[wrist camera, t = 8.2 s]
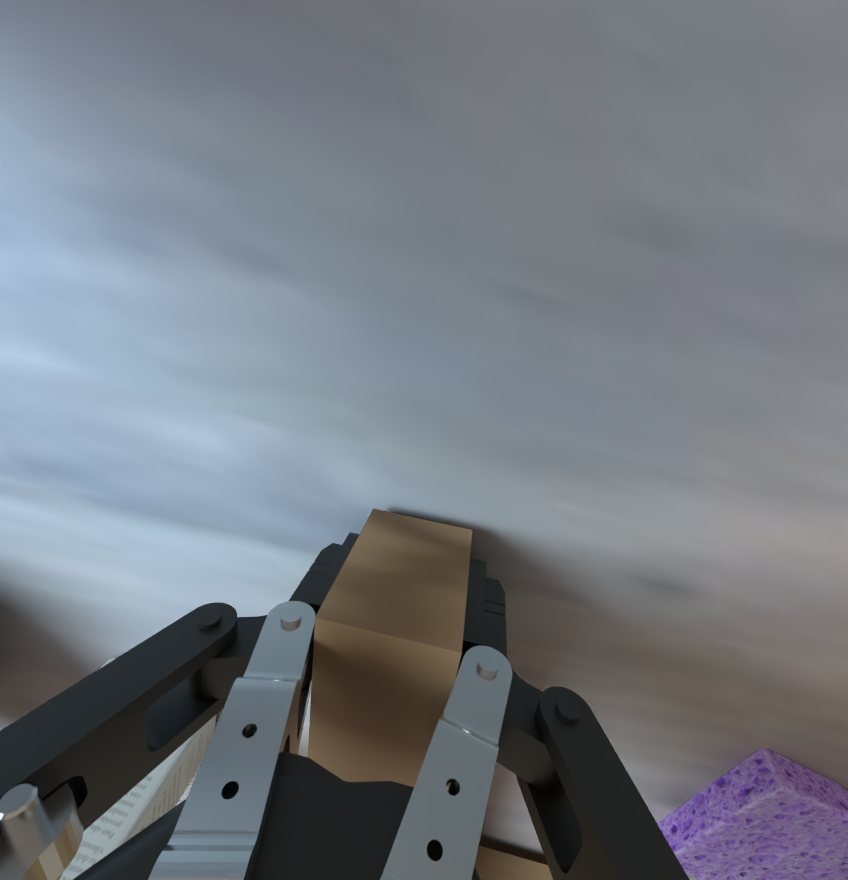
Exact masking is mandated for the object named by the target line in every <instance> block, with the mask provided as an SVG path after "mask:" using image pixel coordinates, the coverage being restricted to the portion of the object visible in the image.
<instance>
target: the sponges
mask: <svg viewBox="0 0 848 880" xmlns="http://www.w3.org/2000/svg"><path fill="white" fill-rule="evenodd" d="M657 825H658V826H659V828H660V830H661V831H662V833H663V835H664V837H665V838H666V840H667V842H668V844H669V845H670V847H671V849H672V850H673V852H674V854H675V856H676V857H677V859H678V861H679V863H680V864H681V866H682V868H683V869H684V871H685V873H686V874H687V875H689V876H694V877H696V878H697V879H699V880H848V790H846V789H844V788H843V787H842V786H841V785H839V784H837V783H835V782H833V781H831V780H829V779H827V778H825V777H823V776H821V775H819V774H817V773H815V772H812V771H811V770H809V769H807V768H805V767H803V766H801V765H799V764H797V763H795V762H793V761H791V760H789V759H787V758H785V757H783V756H781V755H779V754H776V753H774V752H772V751H770V750H768V749H766V748H760V749H759V750H757V751H756V752H755V753H753V754H752V755H750V756H749V757H748V758H746V759H745V760H743V761H742V762H741V763H740V764H738V765H737V766H736V767H734V768H732V769H731V770H730V771H728V772H727V774H725V775H723V776H722V777H720V778H719V779H718V780H716V781H715V782H713V783H712V784H711V785H710V786H708V787H706V788H705V789H704V790H702V791H701V792H700V793H699V794H697V795H696V796H694V797H693V798H691V799H690V800H689V801H687V802H686V803H685V804H683V805H682V806H681V807H679V808H678V809H677V810H676V811H675V812H673V813H672V814H670V815H668V816H667V817H666V819H665V820H663V821H661V822H659V823H658V824H657Z"/></svg>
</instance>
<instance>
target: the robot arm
mask: <svg viewBox="0 0 848 880" xmlns="http://www.w3.org/2000/svg"><path fill="white" fill-rule="evenodd" d="M359 535H360V534H356V533H351V532H350V533H349V535H348V536H347V538H346V540H345V541H344V543H343V545H339V544H334V543H332V544H331V545H329V546H328V547H326V548H325V549H323V550H322V551H321V552H320V554H319V555H318V557H317V558H316V560H315V562H314V563H313V564H312V566H311V567H310V569H309V571H308V572H307V574H306V575H305V577H304V578H303V580H302V581H301V583H300V584H299V586H298V587H297V589H296V591H295V592H294V594H293V595H292V597H291V598H290V600H289V601H288V602H284V603H282V604H279V605H277V606H276V607H274V608H273V609H272V610H271V611H270V612H269V614H268V615H265V616H259V617H237V613H236V610H235V609H234V608H233V607H232V606H230V605H228V604H225V603H210V604H206V605H203V606H200V607H198V608H197V609H195V610H193V611H192V612H190V613H188V614H187V615H185V616H184V617H182V618H180V619H179V620H177V621H176V622H174V623H172V624H171V625H169V626H167V627H166V628H164V629H163V630H161V631H159V632H158V633H156V634H155V635H153V636H151V637H150V638H148V639H147V640H145V641H143V642H142V643H140V644H139V645H137V646H135V647H134V648H132V649H131V650H129V651H127V652H126V653H124V654H123V655H121V656H119V657H118V658H116V659H115V660H113V661H111V662H110V663H108V664H107V665H105V666H103V667H102V668H100V669H99V670H97V671H95V672H94V673H92V674H91V675H89V676H87V677H86V678H84V679H83V680H81V681H79V682H78V683H76V684H75V685H73V686H71V687H70V688H68V689H67V690H65V691H63V692H62V693H60V694H59V695H57V696H55V697H54V698H52V699H51V700H49V701H47V702H46V703H44V704H43V705H41V706H39V707H38V708H36V709H35V710H33V711H31V712H30V713H28V714H27V715H25V716H23V717H22V718H20V719H19V720H17V721H15V722H14V723H12V724H11V725H9V726H7V727H6V728H4V729H3V730H1V731H0V880H59V879H60V877H61V876H62V874H63V872H64V870H65V869H66V868H67V867H68V865H69V864H70V863H71V861H72V860H73V858H74V857H75V855H76V853H77V851H78V849H79V847H80V844H81V841H82V837H83V832H84V831H85V830H86V829H87V828H88V827H89V826H91V825H92V824H93V823H94V822H95V821H96V820H97V819H98V818H100V817H101V816H102V815H103V814H104V813H105V812H106V811H108V810H109V809H110V808H111V807H112V806H113V805H114V804H115V803H117V802H118V801H119V800H120V799H121V798H122V797H123V796H124V795H126V794H127V793H128V792H129V791H130V790H131V789H132V788H134V787H135V786H136V785H137V784H138V783H139V782H140V781H141V780H143V779H144V778H145V777H146V776H147V775H148V774H149V773H151V772H152V771H153V770H154V769H155V768H156V767H157V766H158V765H160V764H161V763H162V762H163V761H164V760H165V759H166V758H167V757H169V756H170V755H171V754H172V753H173V752H174V751H175V750H177V749H178V748H179V747H180V746H181V745H182V744H183V743H184V742H186V741H187V740H188V739H189V738H190V737H191V736H192V735H194V734H195V733H196V732H197V731H198V730H199V729H200V728H201V727H203V726H204V725H205V724H206V723H207V722H208V721H209V720H210V719H212V718H213V717H214V716H215V715H216V714H217V713H218V712H220V711H221V710H222V709H223V711H222V713H221V716H220V718H219V721H218V723H217V726H216V728H215V730H214V733H213V735H212V738H211V740H210V743H209V745H208V748H207V750H206V753H205V755H204V758H203V760H202V763H201V765H200V768H199V770H198V773H197V775H196V777H195V780H194V782H193V785H192V787H191V790H190V792H189V795H188V797H187V799H185V800H184V801H182V802H181V803H180V804H178V805H177V806H175V807H174V808H173V809H171V810H170V811H168V812H167V813H166V814H164V815H163V816H161V817H160V818H159V819H157V820H156V821H154V822H153V823H151V824H150V825H149V826H147V827H146V828H144V829H143V830H142V831H140V832H139V833H137V834H136V835H135V836H133V837H132V838H130V839H129V840H128V841H126V842H125V843H123V844H122V845H121V846H119V847H118V848H116V849H115V850H113V851H112V852H111V853H109V854H108V855H106V856H105V857H104V858H102V859H101V860H99V861H98V862H97V863H95V864H94V865H92V866H91V867H90V868H88V869H87V870H85V871H84V872H82V873H81V874H80V875H78V876H77V877H75V878H74V879H73V880H481V878H480V875H479V873H478V871H477V869H476V866H475V860H476V855H477V851H478V846H479V841H480V836H481V832H482V827H483V822H484V817H485V812H486V808H487V803H488V798H489V793H490V789H491V784H492V779H493V774H494V769H495V765H496V761H497V762H498V763H500V764H501V765H503V766H504V767H506V768H507V769H509V770H510V771H512V772H513V773H515V774H516V776H517V780H518V783H519V786H520V789H521V791H522V794H523V797H524V800H525V803H526V805H527V808H528V811H529V814H530V816H531V819H532V822H533V825H534V828H535V830H536V833H537V836H538V839H539V842H540V844H541V847H542V850H543V853H544V856H545V858H546V861H547V864H548V867H549V869H550V872H551V875H552V878H553V880H689V878H688V876H687V875H686V873H685V871H684V869H683V868H682V866H681V864H680V863H679V861H678V859H677V857H676V856H675V854H674V852H673V850H672V849H671V847H670V845H669V844H668V842H667V840H666V838H665V837H664V835H663V833H662V831H661V830H660V828H659V826H658V825H657V823H656V821H655V819H654V818H653V816H652V814H651V812H650V811H649V809H648V807H647V806H646V804H645V802H644V800H643V799H642V797H641V795H640V793H639V792H638V790H637V788H636V786H635V785H634V783H633V781H632V780H631V778H630V776H629V774H628V773H627V771H626V769H625V767H624V766H623V764H622V762H621V761H620V759H619V757H618V755H617V754H616V752H615V750H614V748H613V747H612V745H611V743H610V742H609V740H608V738H607V736H606V735H605V733H604V731H603V729H602V728H601V726H600V724H599V723H598V721H597V719H596V717H595V716H594V714H593V712H592V710H591V709H590V707H589V706H588V704H587V703H586V702H585V701H584V700H583V699H582V698H581V697H580V696H579V695H577V694H576V693H575V692H573V691H571V690H569V689H567V688H563V687H550V688H548V689H546V690H545V691H544V692H542V691H540V690H538V689H536V688H535V687H533V686H531V685H529V684H528V683H526V682H524V681H523V680H522V679H521V678H520V677H519V676H518V675H517V674H516V673H515V672H514V671H513V669H512V668H511V665H510V663H509V661H508V659H507V646H506V617H505V592H504V590H503V588H502V586H501V584H500V583H499V581H498V580H494V579H490V578H485V575H486V562H482V561H478V560H473V559H470V565H469V576H468V588H467V599H466V610H465V622H464V633H463V644H462V654H461V658H460V662H459V666H458V670H457V675H456V679H455V682H454V685H453V688H452V691H451V693H450V696H449V699H448V702H447V704H446V707H445V710H444V713H443V715H442V717H440V719H439V721H438V724H437V726H436V729H435V732H434V734H433V737H432V740H431V743H430V745H429V748H428V751H427V754H426V756H425V759H424V762H423V764H422V767H421V770H420V773H419V775H418V778H417V781H416V784H415V786H414V787H411V786H407V785H404V784H400V783H397V782H393V781H371V782H346V781H344V780H342V779H340V778H339V777H337V776H336V775H334V774H333V773H331V772H330V771H328V770H327V769H325V768H324V767H322V766H321V765H319V764H318V763H316V762H315V761H313V760H312V759H310V758H307V757H304V756H300V755H297V754H298V748H299V743H300V739H301V734H302V729H303V725H304V720H305V715H306V710H307V706H308V701H309V696H310V692H311V687H312V667H313V647H314V628H315V616H316V615H317V613H318V611H319V609H320V607H321V605H322V603H323V602H324V600H325V598H326V596H327V594H328V592H329V590H330V589H331V587H332V585H333V583H334V581H335V579H336V577H337V576H338V574H339V572H340V570H341V568H342V566H343V564H344V563H345V561H346V559H347V557H348V555H349V553H350V551H351V550H352V548H353V546H354V544H355V542H356V540H357V538H358V537H359Z"/></svg>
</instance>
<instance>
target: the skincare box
mask: <svg viewBox="0 0 848 880" xmlns="http://www.w3.org/2000/svg"><path fill="white" fill-rule="evenodd" d="M115 659H116V658H110V659H109V660H108V661H106V662H105V663H104V664H103V665H102V666H101V667H100V668H102V667H103V666H105V665H107V664H108V663H110V662H111V661H113V660H115ZM100 668H99V669H100ZM99 669H98V670H99ZM216 716H217V714H216V715H215V716H214V717H213V718H212V719H210V720H209V721H208V722H207V723H206V724H205V725H204V726H203V727H201V728H200V729H199V730H198V731H197V732H196V733H195V734H194V735H192V736H191V737H190V738H189V739H188V740H187V741H186V742H184V743H183V744H182V745H181V746H180V747H179V748H178V749H177V750H175V751H174V752H173V753H172V754H171V755H170V756H169V757H167V758H166V759H165V760H164V761H163V762H162V763H161V764H160V765H158V766H157V767H156V768H155V769H154V770H153V771H152V772H151V773H149V774H148V775H147V776H146V777H145V778H144V779H143V780H141V781H140V782H139V783H138V784H137V785H136V786H135V787H134V788H132V789H131V790H130V791H129V792H128V793H127V794H126V795H124V796H123V797H122V798H121V799H120V800H119V801H118V802H117V803H115V804H114V805H113V806H112V807H111V808H110V809H109V810H108V811H106V812H105V813H104V814H103V815H102V816H101V817H100V818H98V819H97V820H96V821H95V822H94V823H93V824H92V825H91V826H89V827H88V828H87V829H86V830H85V831H84V832H83V837H82V841H81V844H80V847H79V849H78V851H77V853H76V855H75V857H74V858H73V860H72V861H71V863H70V864H69V865H68V867H67V868H66V869H65V870H64V872H63V874H62V876H61V877H60V879H59V880H73V879H74V878H75V877H77V876H78V875H80V874H81V873H82V872H84V871H85V870H87V869H88V868H90V867H91V866H92V865H94V864H95V863H97V862H98V861H99V860H101V859H102V858H104V857H105V856H106V855H108V854H109V853H111V852H112V851H113V850H115V849H116V848H118V847H119V846H121V845H122V844H123V843H125V842H126V841H128V840H129V839H130V838H132V837H133V836H135V835H136V834H137V833H139V832H140V831H142V830H143V829H144V828H146V827H147V826H149V825H150V824H151V823H153V822H154V821H156V820H157V819H159V818H160V817H161V816H163V815H164V814H166V813H167V812H168V811H170V810H171V809H173V808H174V807H175V806H176V804H177V803H178V801H179V799H180V798H181V796H182V794H183V793H184V791H185V789H186V787H187V786H188V784H189V782H190V781H191V779H192V777H193V776H194V774H195V772H196V771H197V769H198V767H199V766H200V764H201V762H202V760H203V758H204V755H205V753H206V750H207V748H208V745H209V743H210V740H211V738H212V735H213V733H214V730H215V724H216Z"/></svg>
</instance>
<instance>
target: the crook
mask: <svg viewBox="0 0 848 880" xmlns="http://www.w3.org/2000/svg"><path fill="white" fill-rule="evenodd" d="M472 531H473V530H471V529H466V528H461V527H457V526H452V525H447V524H443V523H438V522H433V521H428V520H424V519H419V518H414V517H410V516H405V515H400V514H395V513H391V512H386V511H381V510H377V509H373V511H372V513H371V514H370V516H369V518H368V520H367V522H366V524H365V526H364V527H363V529H362V531H361V533H360V535H359V537H358V538H357V540H356V542H355V544H354V546H353V548H352V550H351V551H350V553H349V555H348V557H347V559H346V561H345V563H344V564H343V566H342V568H341V570H340V572H339V574H338V576H337V577H336V579H335V581H334V583H333V585H332V587H331V589H330V590H329V592H328V594H327V596H326V598H325V600H324V602H323V603H322V605H321V607H320V609H319V611H318V613H317V615H316V616H315V628H314V647H313V667H312V687H311V707H310V727H309V747H308V758H310V759H312V760H313V761H315V762H316V763H318V764H319V765H321V766H322V767H324V768H325V769H327V770H328V771H330V772H331V773H333V774H334V775H336V776H337V777H339V778H340V779H342V780H344V781H346V782H371V781H393V782H397V783H400V784H404V785H407V786H411V787H414V786H415V784H416V781H417V778H418V775H419V773H420V770H421V767H422V764H423V762H424V759H425V756H426V754H427V751H428V748H429V745H430V743H431V740H432V737H433V734H434V732H435V729H436V726H437V724H438V721H439V719H440V717H442V715H443V713H444V710H445V707H446V704H447V702H448V699H449V696H450V693H451V691H452V688H453V685H454V682H455V679H456V675H457V670H458V666H459V662H460V658H461V654H462V644H463V633H464V622H465V610H466V599H467V588H468V576H469V565H470V554H471V542H472ZM475 866H476V869H477V871H478V873H479V875H480V878H481V880H553V878H552V875H551V872H550V869H549V867H548V865H545V864H541V863H538V862H534V861H531V860H528V859H524V858H521V857H517V856H514V855H510V854H507V853H503V852H500V851H496V850H493V849H489V848H486V847H482V846H478V851H477V855H476V860H475Z"/></svg>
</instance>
